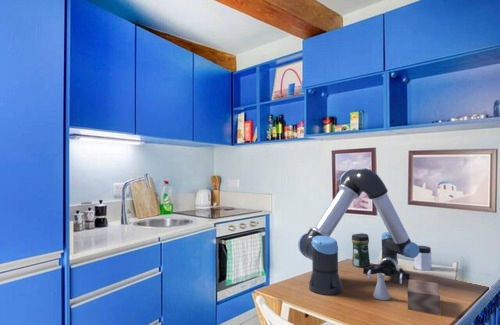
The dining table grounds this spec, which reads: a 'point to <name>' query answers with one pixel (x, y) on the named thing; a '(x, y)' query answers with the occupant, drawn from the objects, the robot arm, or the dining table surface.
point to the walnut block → (424, 296)
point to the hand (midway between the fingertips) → (384, 278)
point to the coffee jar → (360, 250)
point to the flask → (381, 288)
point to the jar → (423, 259)
